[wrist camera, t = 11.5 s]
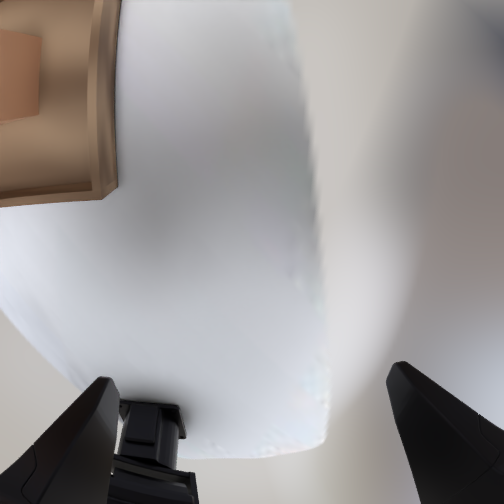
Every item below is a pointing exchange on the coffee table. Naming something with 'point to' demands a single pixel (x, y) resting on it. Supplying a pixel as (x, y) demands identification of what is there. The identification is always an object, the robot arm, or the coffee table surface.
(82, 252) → the coffee table surface
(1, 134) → the walnut tray
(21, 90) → the terracotta block
